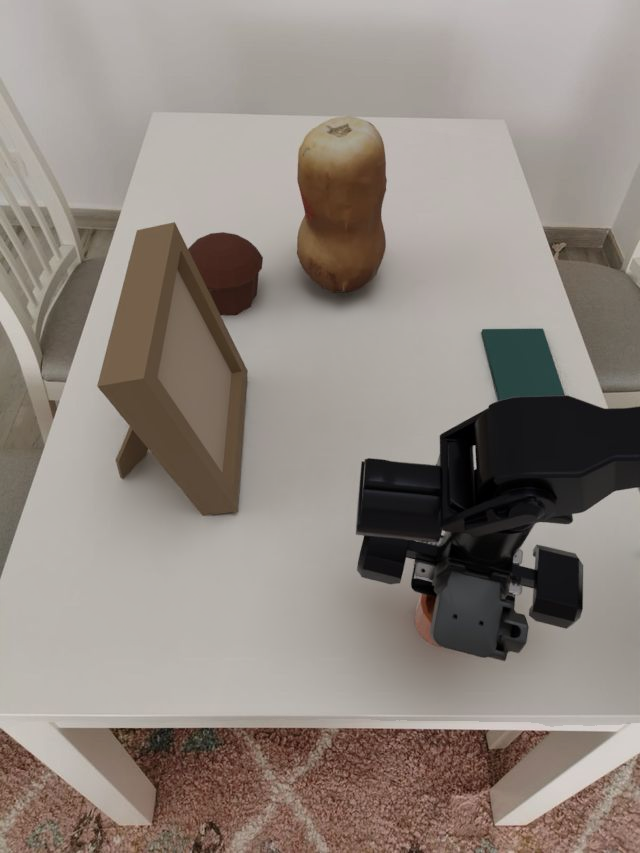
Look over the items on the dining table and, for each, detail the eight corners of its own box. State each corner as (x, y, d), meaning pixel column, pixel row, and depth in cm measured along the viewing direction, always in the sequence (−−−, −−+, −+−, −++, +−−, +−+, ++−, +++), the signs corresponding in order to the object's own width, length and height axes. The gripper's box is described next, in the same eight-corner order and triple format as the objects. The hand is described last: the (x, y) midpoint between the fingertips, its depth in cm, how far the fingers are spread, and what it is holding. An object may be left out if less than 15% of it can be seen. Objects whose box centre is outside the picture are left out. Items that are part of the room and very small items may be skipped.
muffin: (178, 314, 93) (165, 260, 85) (203, 267, 99) (194, 213, 91) (254, 327, 91) (248, 274, 83) (274, 279, 98) (271, 225, 90)
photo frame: (248, 375, 86) (227, 221, 66) (238, 515, 73) (209, 377, 53) (141, 376, 86) (87, 222, 65) (112, 516, 73) (35, 379, 53)
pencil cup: (469, 603, 67) (480, 584, 63) (463, 654, 64) (474, 638, 59) (418, 590, 68) (425, 570, 63) (409, 640, 65) (416, 623, 60)
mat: (577, 443, 80) (580, 439, 79) (508, 444, 79) (510, 440, 79) (541, 332, 91) (543, 328, 91) (481, 332, 91) (482, 328, 91)
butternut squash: (289, 260, 101) (283, 105, 80) (368, 247, 103) (381, 93, 82) (309, 318, 93) (308, 162, 73) (394, 303, 95) (416, 148, 75)
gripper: (346, 594, 45) (339, 656, 57) (613, 662, 42) (544, 711, 55) (377, 468, 51) (364, 548, 64) (610, 520, 48) (549, 594, 61)
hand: (451, 599), depth 61 cm, fingers closed
